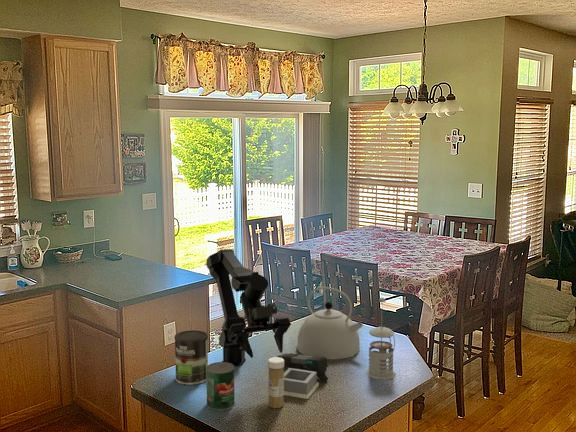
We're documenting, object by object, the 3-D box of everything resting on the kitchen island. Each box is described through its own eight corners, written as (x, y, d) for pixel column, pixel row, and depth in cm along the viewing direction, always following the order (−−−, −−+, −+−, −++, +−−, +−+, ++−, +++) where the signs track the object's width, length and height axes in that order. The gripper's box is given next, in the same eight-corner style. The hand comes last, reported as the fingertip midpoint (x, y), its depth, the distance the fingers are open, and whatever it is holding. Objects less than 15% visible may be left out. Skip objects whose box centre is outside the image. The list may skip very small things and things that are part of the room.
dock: (275, 393, 172) (275, 379, 171) (288, 380, 181) (288, 367, 180) (307, 398, 168) (307, 384, 167) (318, 385, 177) (318, 371, 177)
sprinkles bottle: (264, 405, 164) (264, 359, 162) (275, 400, 167) (275, 355, 166) (277, 410, 161) (276, 363, 159) (287, 404, 164) (287, 359, 163)
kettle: (376, 345, 213) (377, 285, 210) (347, 365, 194) (348, 299, 191) (316, 334, 226) (317, 277, 223) (285, 351, 207) (284, 289, 204)
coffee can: (198, 387, 176) (197, 342, 175) (169, 382, 180) (168, 338, 178) (214, 374, 186) (213, 332, 184) (186, 370, 189) (185, 328, 188)
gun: (322, 384, 178) (314, 351, 179) (282, 386, 192) (275, 356, 194) (332, 380, 181) (325, 348, 182) (292, 382, 195) (285, 353, 197)
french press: (359, 373, 186) (360, 298, 183) (379, 363, 195) (380, 291, 192) (385, 382, 180) (386, 303, 177) (405, 371, 188) (406, 296, 185)
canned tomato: (227, 412, 160) (226, 374, 158) (201, 408, 162) (200, 370, 161) (239, 400, 167) (238, 363, 166) (214, 396, 170) (214, 360, 168)
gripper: (229, 297, 167) (243, 346, 159) (288, 290, 175) (304, 337, 166) (221, 317, 175) (234, 364, 167) (277, 309, 183) (292, 354, 174)
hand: (267, 354), depth 168 cm, fingers open, 9 cm apart
